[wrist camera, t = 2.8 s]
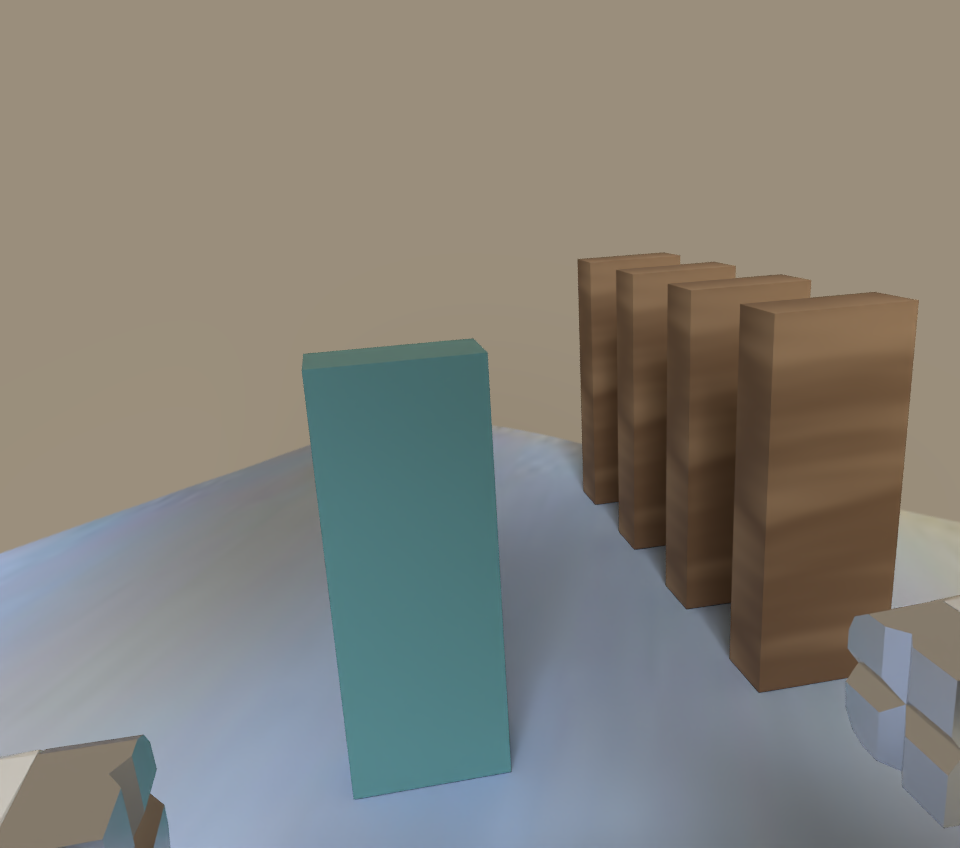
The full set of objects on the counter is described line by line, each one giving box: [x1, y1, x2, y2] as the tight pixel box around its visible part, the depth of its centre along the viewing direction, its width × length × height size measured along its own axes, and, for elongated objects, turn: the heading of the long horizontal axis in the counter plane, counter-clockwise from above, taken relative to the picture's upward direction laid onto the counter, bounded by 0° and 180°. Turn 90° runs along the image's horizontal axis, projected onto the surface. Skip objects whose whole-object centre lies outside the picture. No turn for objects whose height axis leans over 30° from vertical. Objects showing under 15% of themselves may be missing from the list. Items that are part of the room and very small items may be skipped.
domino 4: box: [666, 275, 811, 609], centre depth 31 cm, size 2×4×12 cm, turn 100°
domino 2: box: [578, 253, 680, 505], centre depth 41 cm, size 2×4×12 cm, turn 101°
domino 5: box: [730, 292, 919, 693], centre depth 26 cm, size 2×4×12 cm, turn 100°
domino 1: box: [302, 339, 511, 799], centre depth 22 cm, size 2×4×12 cm, turn 100°
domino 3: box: [616, 262, 736, 549], centre depth 36 cm, size 2×4×12 cm, turn 100°
